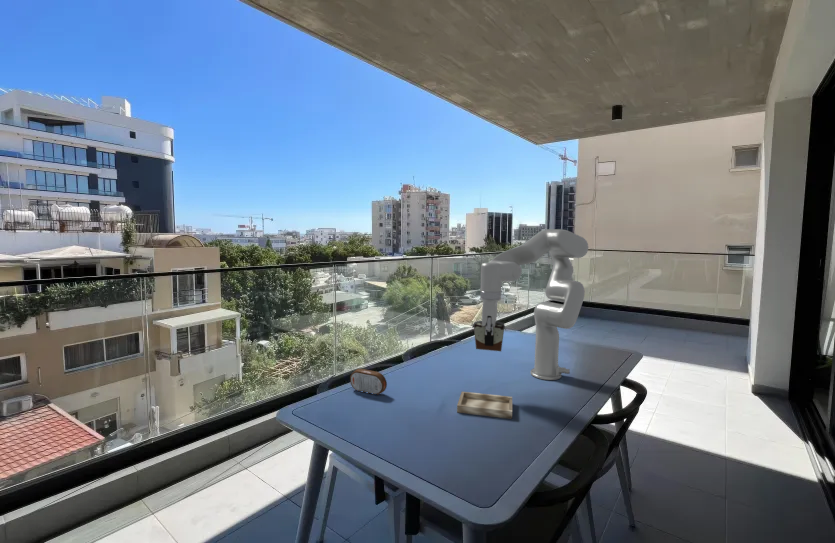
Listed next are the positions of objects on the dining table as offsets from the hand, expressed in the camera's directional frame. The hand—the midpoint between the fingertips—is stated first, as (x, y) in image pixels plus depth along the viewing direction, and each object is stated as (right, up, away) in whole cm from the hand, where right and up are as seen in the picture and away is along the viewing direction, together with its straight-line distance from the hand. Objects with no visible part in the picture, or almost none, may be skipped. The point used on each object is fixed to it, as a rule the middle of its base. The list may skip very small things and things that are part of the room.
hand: (489, 342), depth 146 cm
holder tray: (-4, -20, -12) cm, 24 cm away
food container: (0, -2, +1) cm, 2 cm away
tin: (-46, -19, +1) cm, 50 cm away
